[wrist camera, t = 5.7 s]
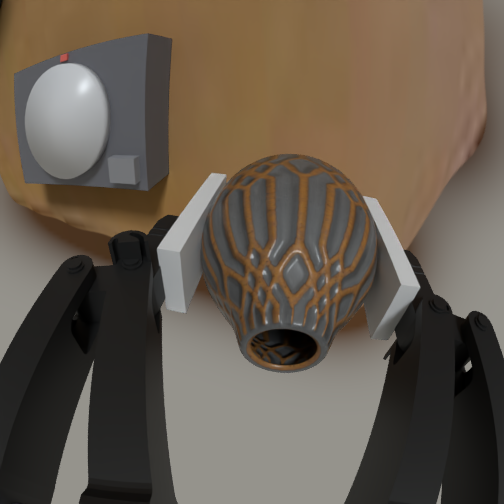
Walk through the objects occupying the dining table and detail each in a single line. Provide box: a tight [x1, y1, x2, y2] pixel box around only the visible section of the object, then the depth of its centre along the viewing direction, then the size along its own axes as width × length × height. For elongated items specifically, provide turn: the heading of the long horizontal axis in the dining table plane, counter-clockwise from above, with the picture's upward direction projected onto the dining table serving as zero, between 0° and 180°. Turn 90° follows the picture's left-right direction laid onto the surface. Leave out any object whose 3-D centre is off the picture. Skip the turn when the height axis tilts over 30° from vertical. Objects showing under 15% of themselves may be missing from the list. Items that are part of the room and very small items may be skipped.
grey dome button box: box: [14, 34, 172, 191], centre depth 18 cm, size 16×12×5 cm
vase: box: [201, 154, 378, 373], centre depth 11 cm, size 7×7×9 cm
